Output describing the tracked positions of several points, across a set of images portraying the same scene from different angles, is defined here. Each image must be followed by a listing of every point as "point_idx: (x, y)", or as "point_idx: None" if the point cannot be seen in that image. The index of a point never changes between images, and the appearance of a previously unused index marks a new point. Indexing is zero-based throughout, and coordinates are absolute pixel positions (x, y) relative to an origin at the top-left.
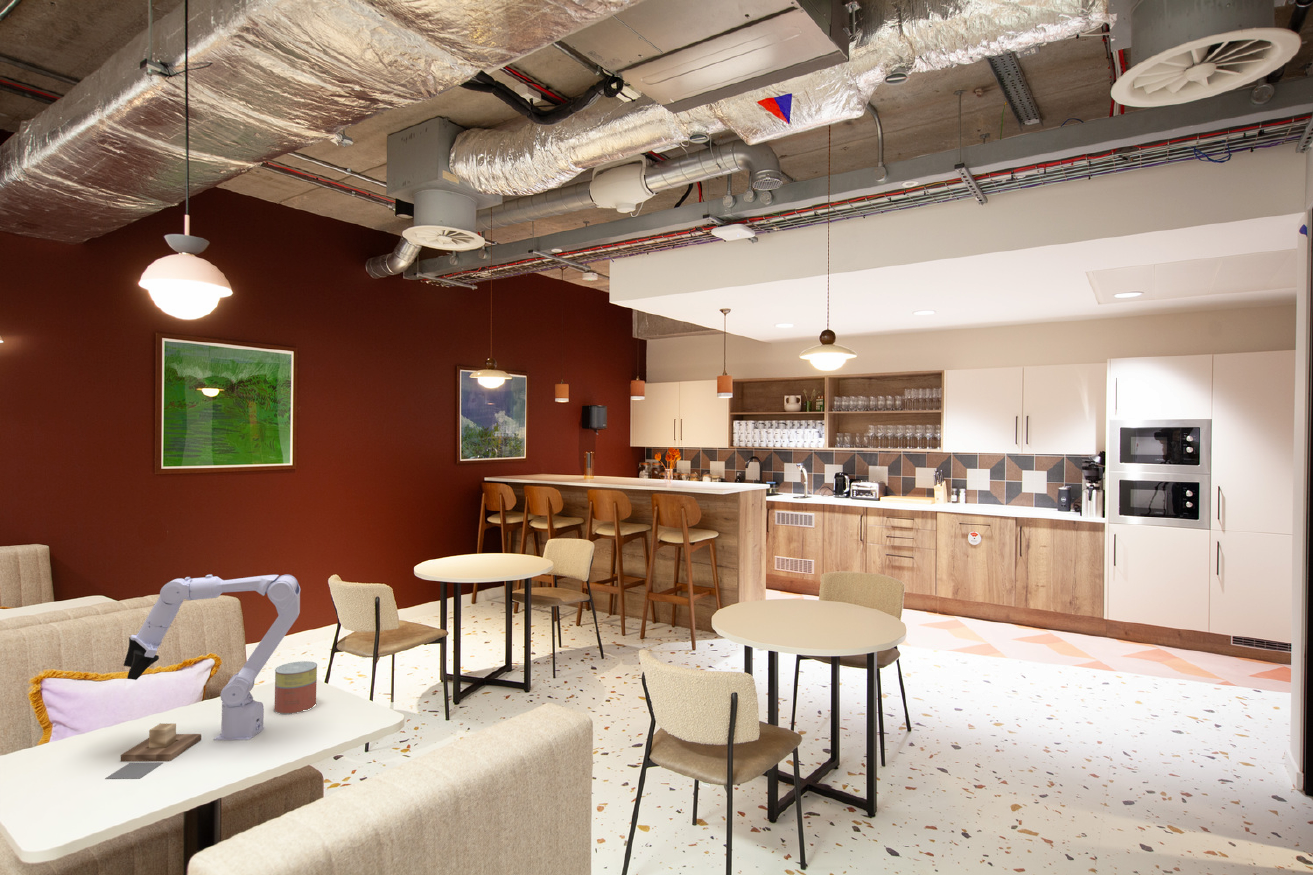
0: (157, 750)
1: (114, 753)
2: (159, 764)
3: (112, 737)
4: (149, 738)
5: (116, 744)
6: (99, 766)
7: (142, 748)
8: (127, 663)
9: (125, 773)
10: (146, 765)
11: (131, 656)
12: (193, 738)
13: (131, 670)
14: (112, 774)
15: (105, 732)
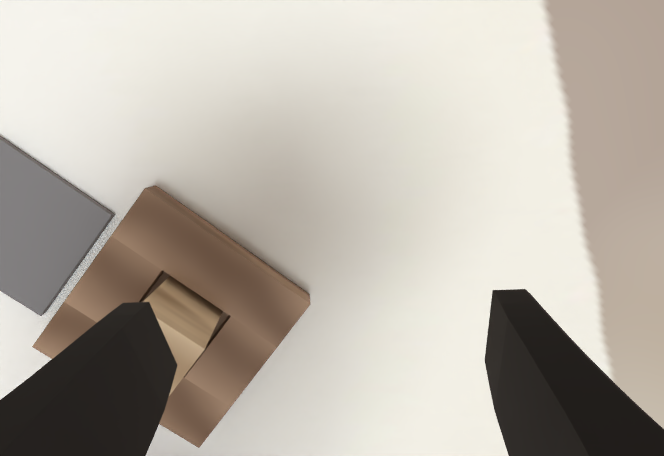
0: (107, 307)
1: (275, 169)
2: (26, 302)
3: (464, 165)
4: (151, 294)
5: (373, 176)
6: (165, 120)
7: (166, 260)
8: (500, 335)
9: (2, 199)
10: (43, 264)
11: (537, 434)
12: (164, 422)
13: (31, 385)
14: (21, 158)
15: (542, 143)
